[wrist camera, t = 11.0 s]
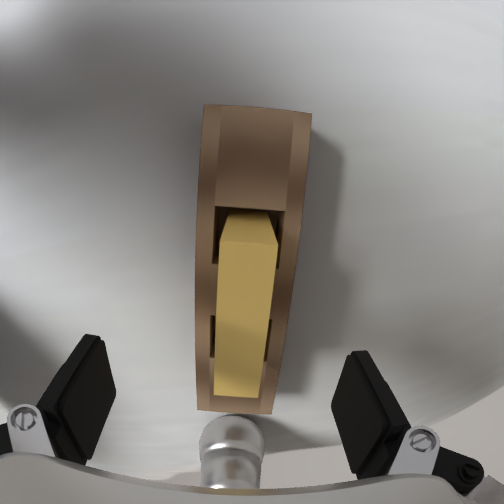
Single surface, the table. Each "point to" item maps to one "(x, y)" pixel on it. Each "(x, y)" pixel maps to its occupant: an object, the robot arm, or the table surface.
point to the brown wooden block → (247, 198)
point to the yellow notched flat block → (243, 301)
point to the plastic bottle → (231, 453)
